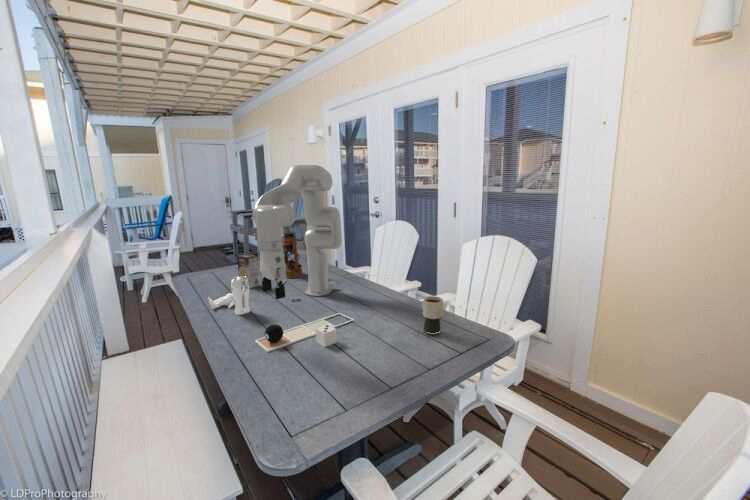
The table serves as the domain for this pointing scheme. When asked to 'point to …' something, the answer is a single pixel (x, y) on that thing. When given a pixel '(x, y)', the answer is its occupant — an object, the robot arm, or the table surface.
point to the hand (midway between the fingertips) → (273, 294)
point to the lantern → (288, 246)
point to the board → (297, 333)
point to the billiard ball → (274, 333)
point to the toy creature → (222, 301)
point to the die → (326, 335)
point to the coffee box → (249, 268)
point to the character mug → (432, 313)
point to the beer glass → (240, 294)
